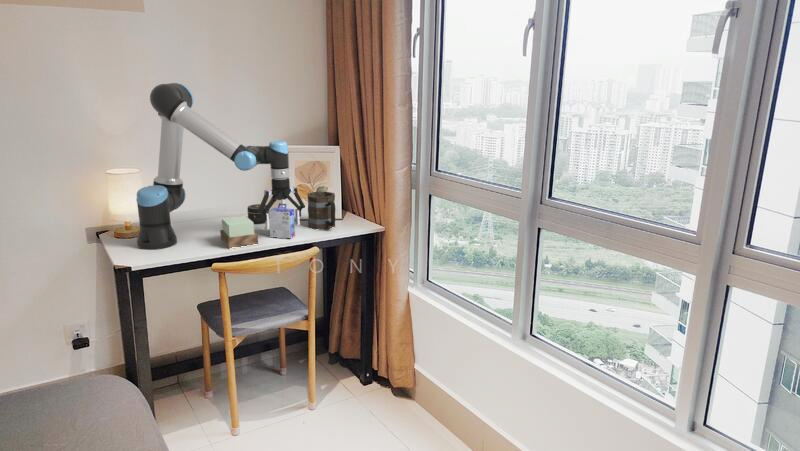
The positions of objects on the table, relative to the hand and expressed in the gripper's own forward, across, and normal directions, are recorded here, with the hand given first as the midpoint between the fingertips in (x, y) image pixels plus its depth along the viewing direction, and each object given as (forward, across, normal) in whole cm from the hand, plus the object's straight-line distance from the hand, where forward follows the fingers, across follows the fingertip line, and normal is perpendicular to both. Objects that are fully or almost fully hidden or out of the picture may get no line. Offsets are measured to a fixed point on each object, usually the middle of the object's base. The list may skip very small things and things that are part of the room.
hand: (282, 226), depth 243 cm
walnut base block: (+5, -19, 0) cm, 20 cm away
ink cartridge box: (+5, 0, 0) cm, 5 cm away
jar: (+5, -2, +29) cm, 29 cm away
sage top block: (0, -19, 0) cm, 19 cm away
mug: (+5, +22, +6) cm, 23 cm away
